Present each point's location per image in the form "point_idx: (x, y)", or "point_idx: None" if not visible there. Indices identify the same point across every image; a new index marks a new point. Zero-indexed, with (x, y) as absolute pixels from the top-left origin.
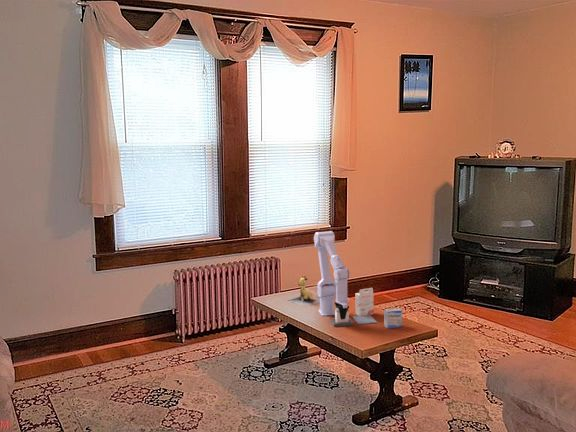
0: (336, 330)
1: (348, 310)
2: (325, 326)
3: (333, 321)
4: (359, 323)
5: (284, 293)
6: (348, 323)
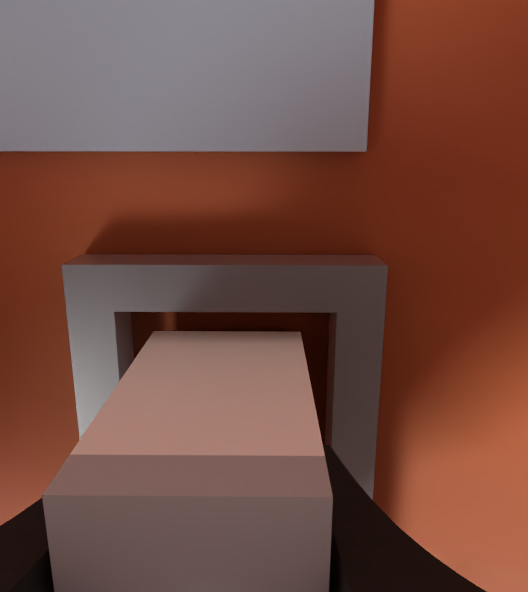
0: (520, 562)
1: (328, 479)
2: None
3: None
4: (367, 130)
5: None
6: (379, 360)
